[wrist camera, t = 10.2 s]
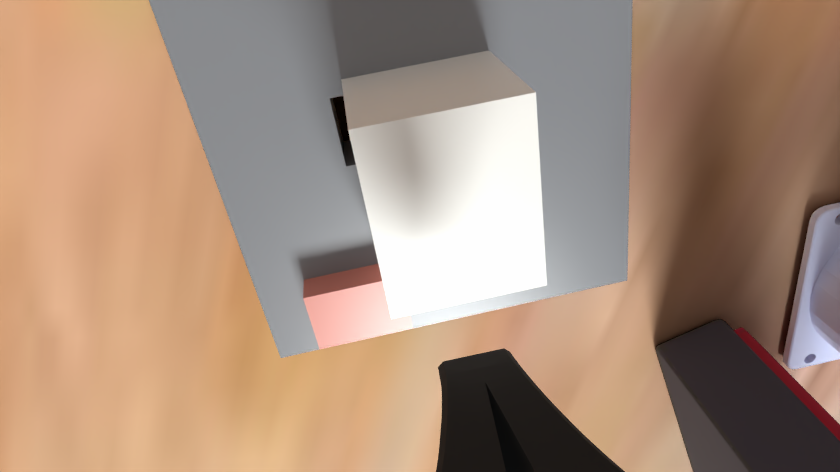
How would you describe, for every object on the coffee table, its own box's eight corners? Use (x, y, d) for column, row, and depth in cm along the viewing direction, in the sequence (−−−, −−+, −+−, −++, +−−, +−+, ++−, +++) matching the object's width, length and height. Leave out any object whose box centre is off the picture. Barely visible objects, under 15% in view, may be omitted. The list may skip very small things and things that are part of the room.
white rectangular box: (473, 37, 18) (536, 92, 13) (489, 189, 20) (546, 285, 15) (339, 63, 17) (348, 130, 12) (372, 213, 20) (391, 319, 15)
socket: (601, -121, 16) (654, -125, 14) (603, 250, 22) (640, 297, 20) (158, -37, 16) (126, -24, 13) (283, 321, 22) (279, 378, 19)
